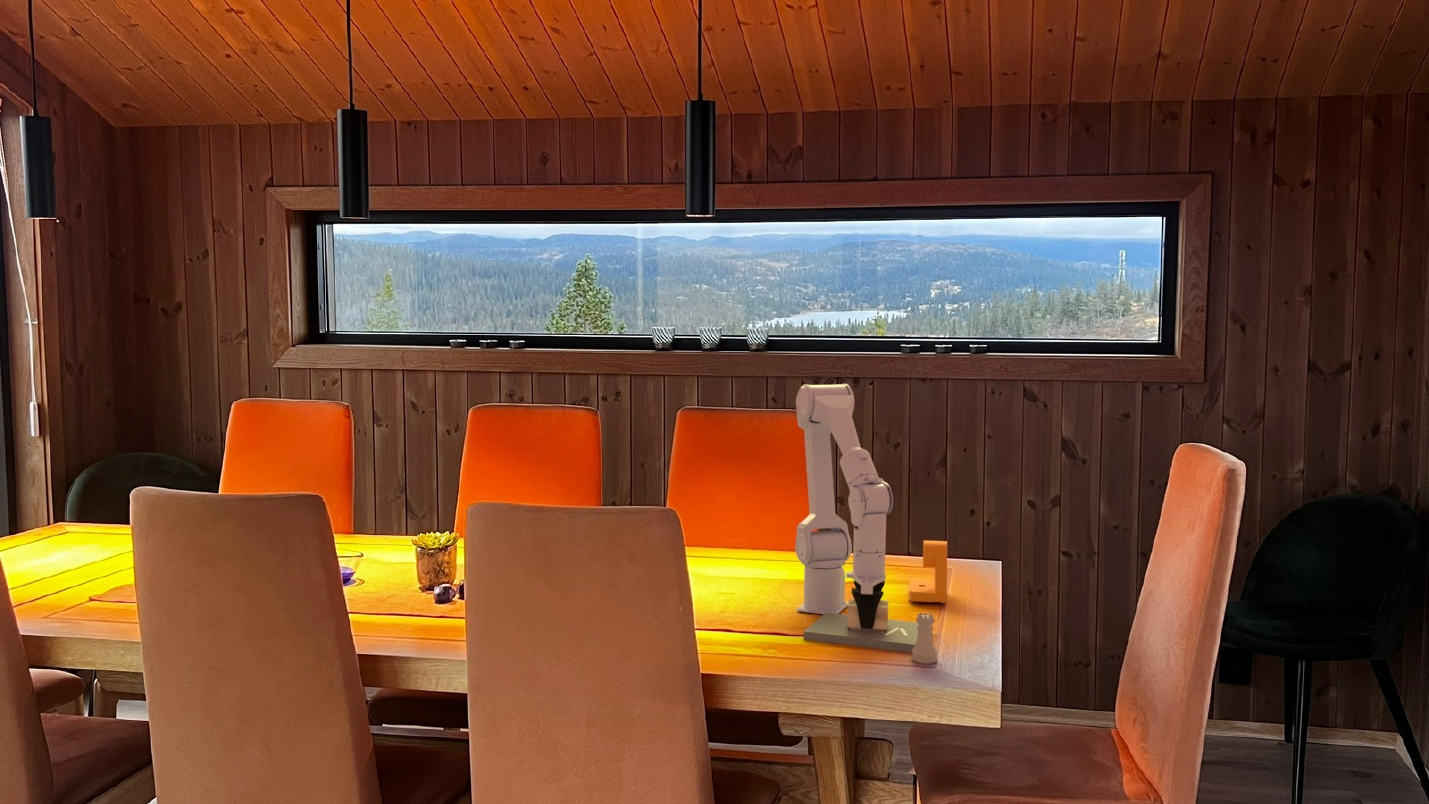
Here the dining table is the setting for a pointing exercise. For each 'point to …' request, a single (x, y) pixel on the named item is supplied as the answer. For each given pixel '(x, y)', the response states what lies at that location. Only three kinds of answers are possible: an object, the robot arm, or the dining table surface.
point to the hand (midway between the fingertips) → (867, 623)
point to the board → (863, 634)
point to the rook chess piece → (924, 640)
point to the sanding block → (880, 618)
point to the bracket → (938, 587)
